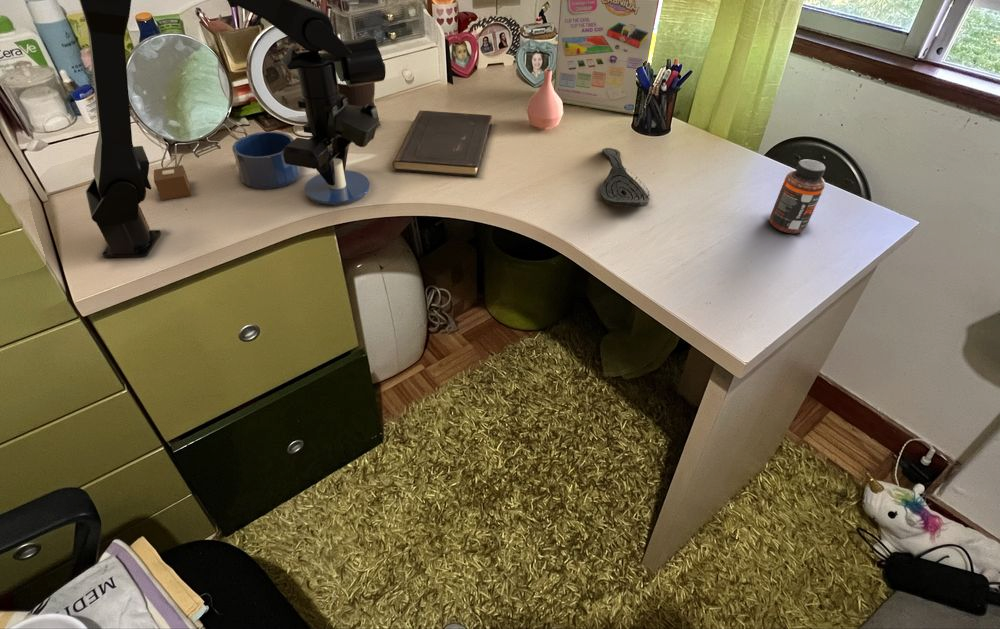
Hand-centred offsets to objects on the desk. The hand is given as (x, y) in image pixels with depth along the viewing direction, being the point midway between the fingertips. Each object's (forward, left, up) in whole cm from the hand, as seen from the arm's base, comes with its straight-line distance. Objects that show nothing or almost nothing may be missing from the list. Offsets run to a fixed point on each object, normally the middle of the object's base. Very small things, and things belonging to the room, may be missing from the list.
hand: (336, 180), depth 102 cm
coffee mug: (+29, -1, -2) cm, 29 cm away
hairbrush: (+2, -51, -2) cm, 51 cm away
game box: (+38, -54, -2) cm, 66 cm away
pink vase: (+26, -40, -2) cm, 48 cm away
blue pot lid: (0, 0, -2) cm, 2 cm away
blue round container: (+6, +13, -2) cm, 14 cm away
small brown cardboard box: (0, +28, -2) cm, 28 cm away
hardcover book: (+17, -19, -2) cm, 26 cm away
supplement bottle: (-13, -77, -2) cm, 78 cm away
